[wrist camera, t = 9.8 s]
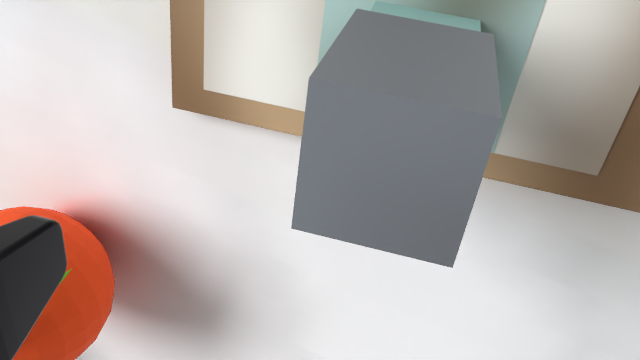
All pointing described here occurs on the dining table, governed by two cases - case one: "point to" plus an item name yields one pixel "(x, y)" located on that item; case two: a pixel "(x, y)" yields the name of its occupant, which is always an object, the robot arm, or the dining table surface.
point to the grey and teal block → (398, 132)
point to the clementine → (70, 293)
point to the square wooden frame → (512, 66)
